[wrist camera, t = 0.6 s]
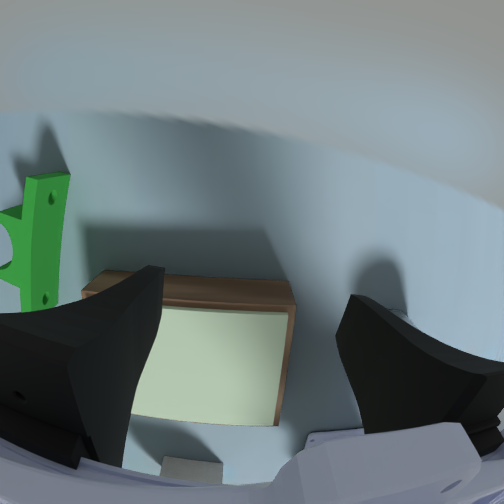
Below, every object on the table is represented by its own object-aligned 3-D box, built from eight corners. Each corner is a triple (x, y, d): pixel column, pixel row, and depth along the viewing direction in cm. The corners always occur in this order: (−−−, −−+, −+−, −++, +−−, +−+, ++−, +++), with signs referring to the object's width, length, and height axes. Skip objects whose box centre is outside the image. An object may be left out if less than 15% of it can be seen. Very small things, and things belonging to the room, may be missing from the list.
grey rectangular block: (164, 455, 29) (148, 526, 19) (223, 463, 29) (219, 536, 19) (167, 471, 30) (153, 536, 20) (222, 478, 30) (218, 545, 21)
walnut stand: (274, 394, 26) (278, 429, 22) (122, 381, 25) (106, 412, 21) (288, 280, 23) (297, 308, 18) (104, 270, 22) (78, 292, 18)
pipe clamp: (37, 165, 20) (2, 169, 16) (72, 174, 20) (37, 179, 16) (28, 289, 23) (-1, 310, 18) (59, 303, 23) (31, 327, 19)
